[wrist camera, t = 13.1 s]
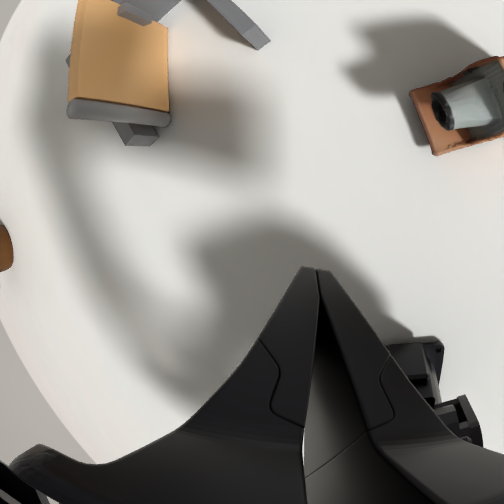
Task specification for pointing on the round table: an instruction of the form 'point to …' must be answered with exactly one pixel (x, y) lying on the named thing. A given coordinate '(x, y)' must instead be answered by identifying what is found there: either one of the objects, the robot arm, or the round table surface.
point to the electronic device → (463, 107)
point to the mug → (5, 250)
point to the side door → (118, 65)
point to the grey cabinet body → (157, 4)
